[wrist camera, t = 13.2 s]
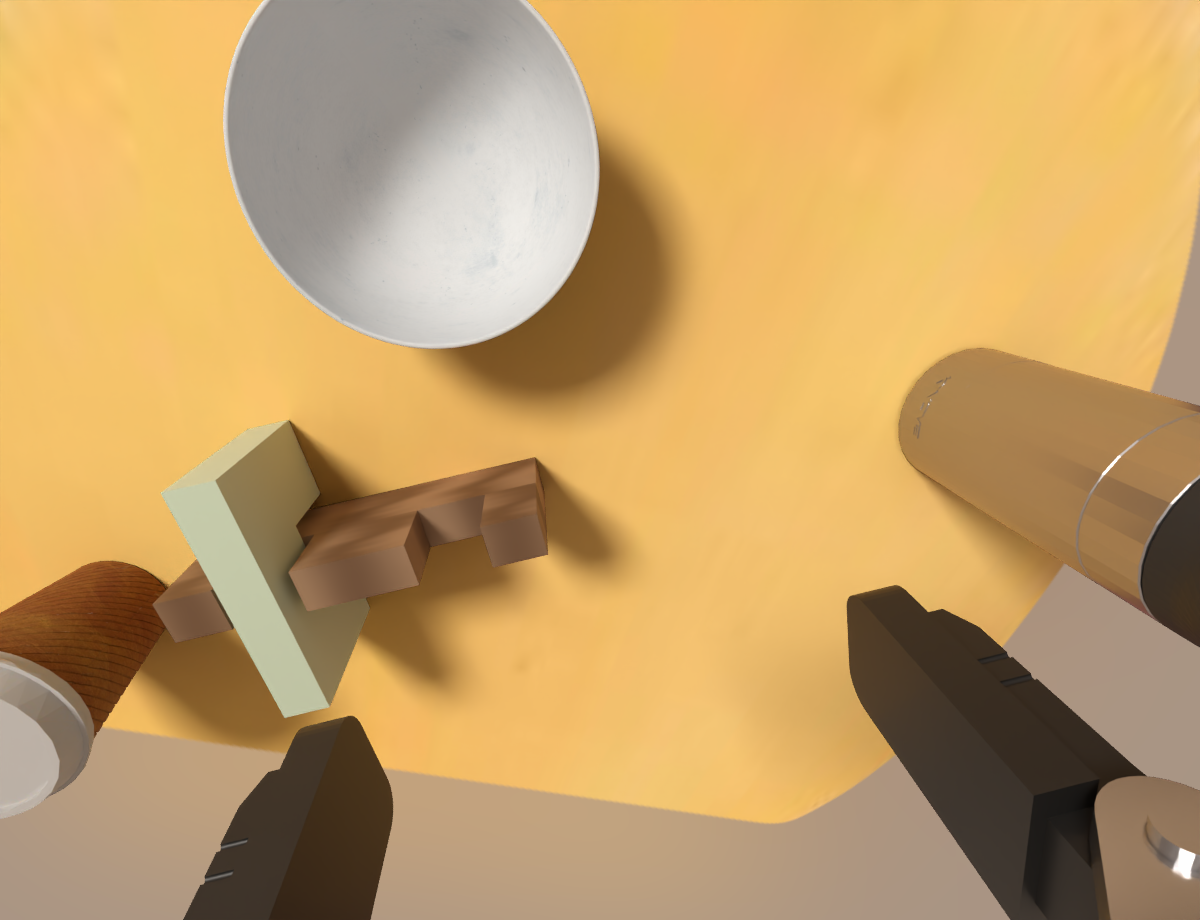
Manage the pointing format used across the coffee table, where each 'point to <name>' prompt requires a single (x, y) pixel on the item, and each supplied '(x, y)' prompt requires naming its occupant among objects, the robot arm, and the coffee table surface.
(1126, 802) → the robot arm
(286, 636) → the cross piece
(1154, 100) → the coffee table surface
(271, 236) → the chinaware
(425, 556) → the rail
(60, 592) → the disposable coffee cup
